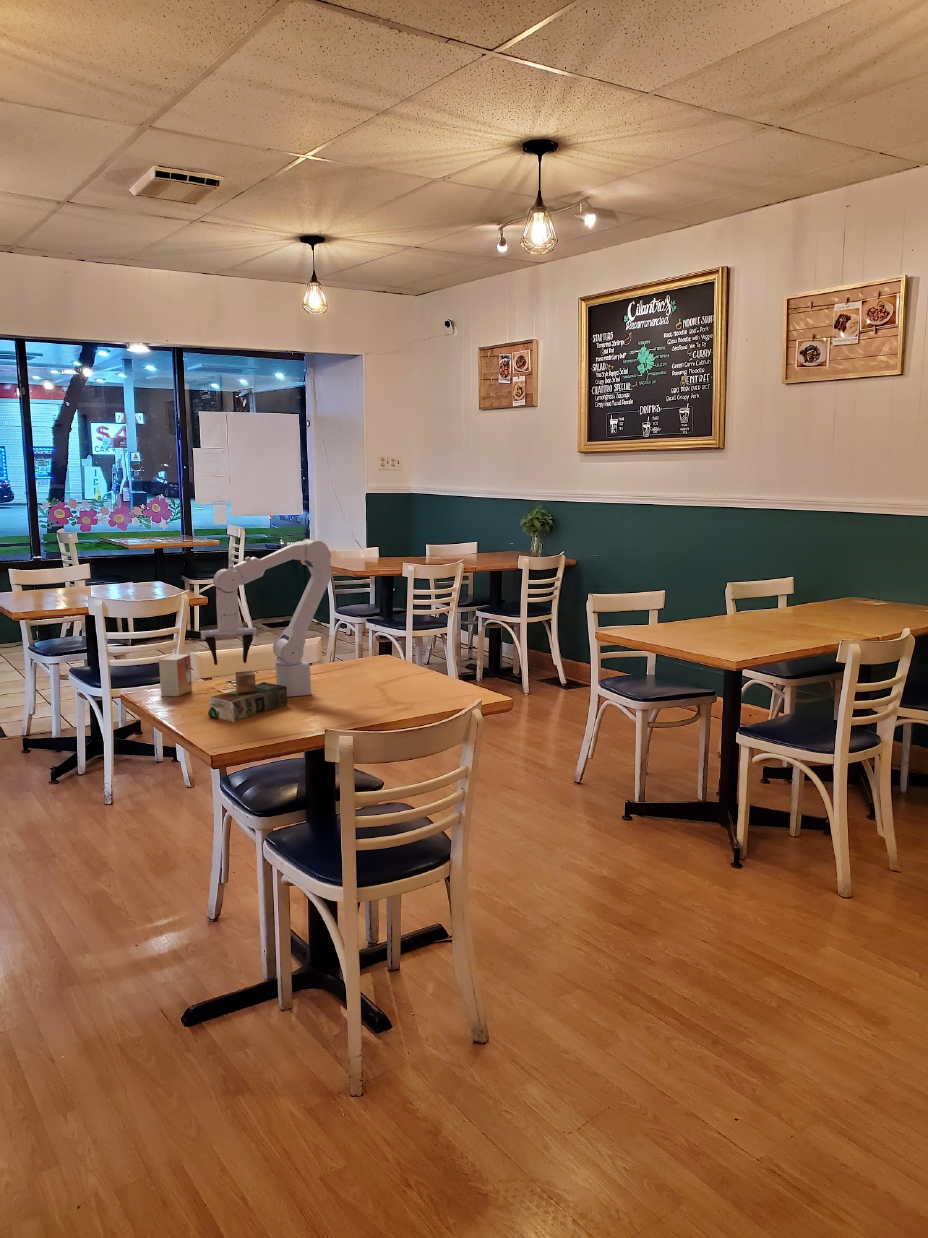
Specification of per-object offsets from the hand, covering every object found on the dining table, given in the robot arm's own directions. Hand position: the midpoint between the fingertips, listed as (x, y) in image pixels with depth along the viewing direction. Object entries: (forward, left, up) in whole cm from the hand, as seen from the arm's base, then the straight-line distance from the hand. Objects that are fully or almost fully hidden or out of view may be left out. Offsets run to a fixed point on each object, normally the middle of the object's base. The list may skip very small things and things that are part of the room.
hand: (230, 663), depth 254 cm
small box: (+14, -14, -11) cm, 23 cm away
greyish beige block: (-3, +12, -5) cm, 13 cm away
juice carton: (-3, +13, -11) cm, 17 cm away
